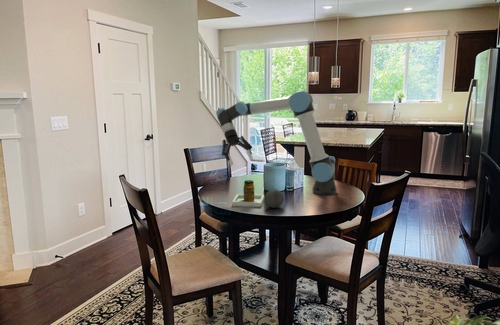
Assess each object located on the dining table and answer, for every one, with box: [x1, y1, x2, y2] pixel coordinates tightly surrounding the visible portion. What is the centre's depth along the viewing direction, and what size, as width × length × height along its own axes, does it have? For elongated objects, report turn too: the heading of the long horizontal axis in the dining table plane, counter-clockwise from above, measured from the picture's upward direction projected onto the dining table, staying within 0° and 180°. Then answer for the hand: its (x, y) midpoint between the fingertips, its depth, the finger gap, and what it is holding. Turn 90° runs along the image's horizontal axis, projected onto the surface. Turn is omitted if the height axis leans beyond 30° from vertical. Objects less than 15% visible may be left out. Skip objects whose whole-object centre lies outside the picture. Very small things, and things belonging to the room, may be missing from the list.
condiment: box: [240, 179, 257, 202], centre depth 199 cm, size 7×8×12 cm
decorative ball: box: [264, 188, 285, 209], centre depth 190 cm, size 10×10×10 cm
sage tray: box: [231, 193, 265, 208], centre depth 200 cm, size 16×16×2 cm
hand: (242, 162), depth 211 cm, fingers open, 13 cm apart
